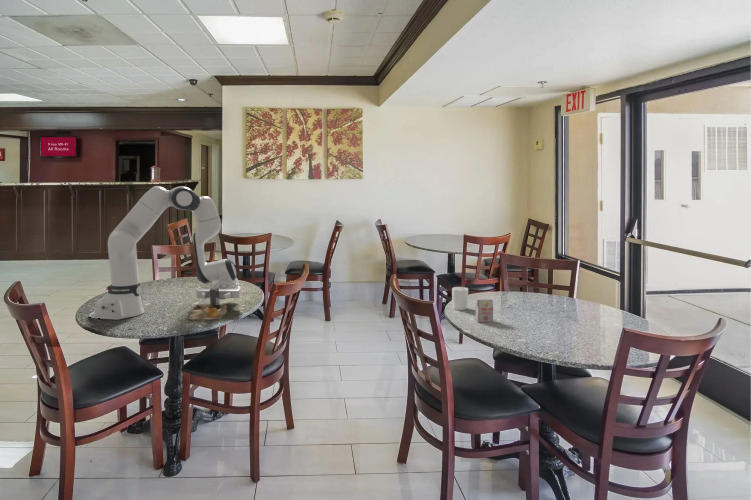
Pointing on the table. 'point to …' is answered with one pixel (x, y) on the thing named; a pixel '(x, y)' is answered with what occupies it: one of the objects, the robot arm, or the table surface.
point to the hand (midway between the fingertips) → (214, 297)
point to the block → (214, 298)
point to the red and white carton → (484, 311)
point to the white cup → (459, 298)
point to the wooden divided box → (207, 312)
